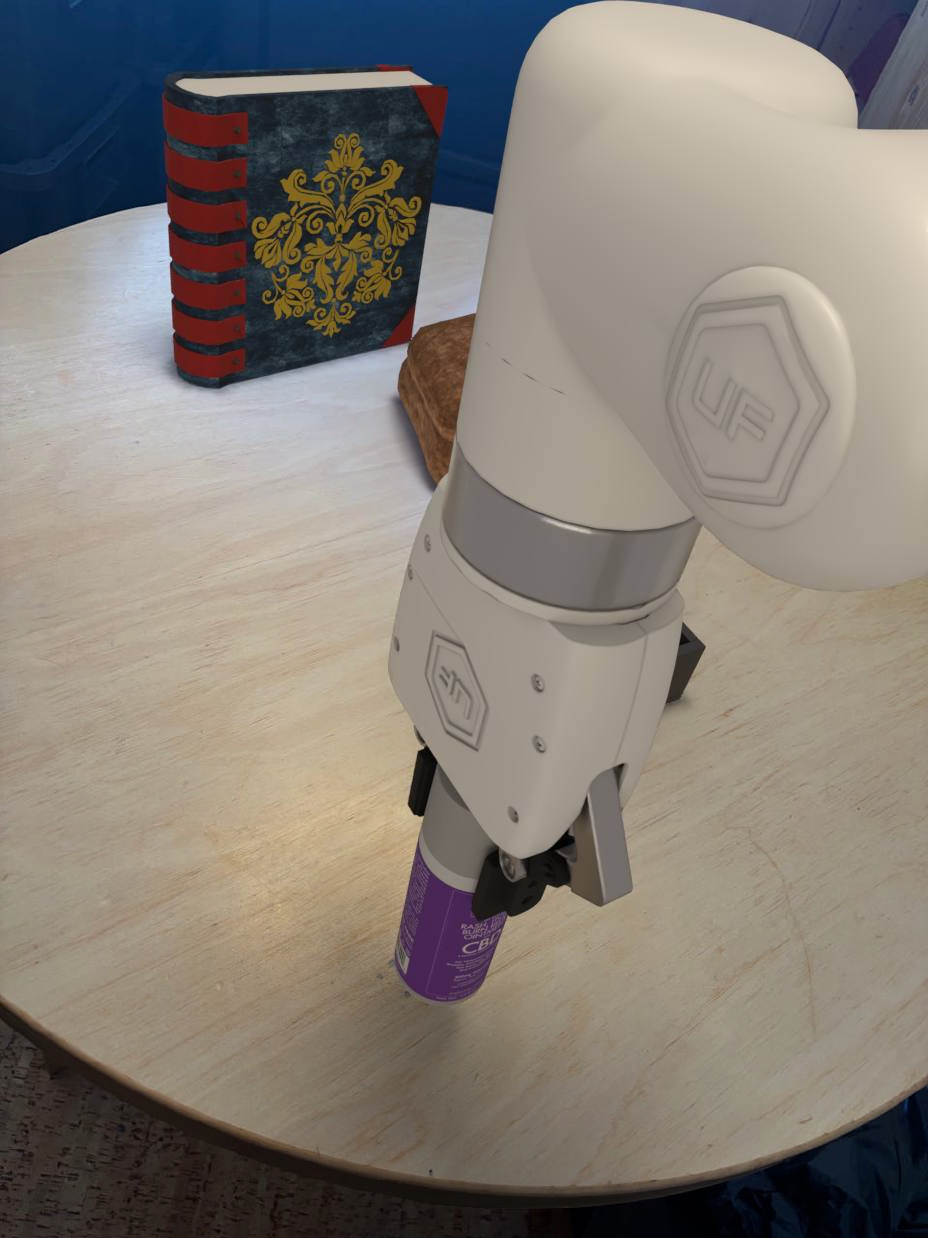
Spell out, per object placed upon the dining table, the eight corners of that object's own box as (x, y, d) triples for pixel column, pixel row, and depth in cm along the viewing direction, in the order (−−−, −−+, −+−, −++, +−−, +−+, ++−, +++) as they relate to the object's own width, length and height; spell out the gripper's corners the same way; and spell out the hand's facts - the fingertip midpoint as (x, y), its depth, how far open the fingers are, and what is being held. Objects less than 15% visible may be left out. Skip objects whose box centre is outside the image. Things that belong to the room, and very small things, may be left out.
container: (454, 1027, 44) (515, 845, 34) (374, 969, 46) (410, 778, 36) (505, 952, 48) (574, 765, 38) (428, 900, 49) (475, 707, 39)
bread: (725, 491, 90) (773, 386, 82) (429, 501, 81) (451, 384, 73) (654, 393, 101) (690, 292, 94) (386, 392, 92) (401, 280, 84)
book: (195, 396, 86) (188, 101, 69) (159, 358, 90) (144, 68, 73) (414, 344, 100) (454, 87, 83) (376, 313, 104) (407, 60, 86)
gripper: (336, 376, 31) (310, 733, 44) (647, 750, 21) (500, 1076, 34) (524, 351, 35) (451, 689, 47) (868, 663, 25) (662, 988, 37)
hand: (473, 848), depth 40 cm, fingers closed on container, 4 cm apart
